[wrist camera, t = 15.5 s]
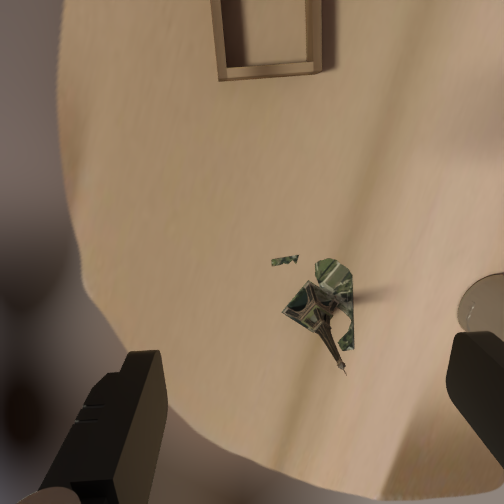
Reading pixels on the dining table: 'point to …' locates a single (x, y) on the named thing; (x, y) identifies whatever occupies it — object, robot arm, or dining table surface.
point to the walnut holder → (276, 70)
